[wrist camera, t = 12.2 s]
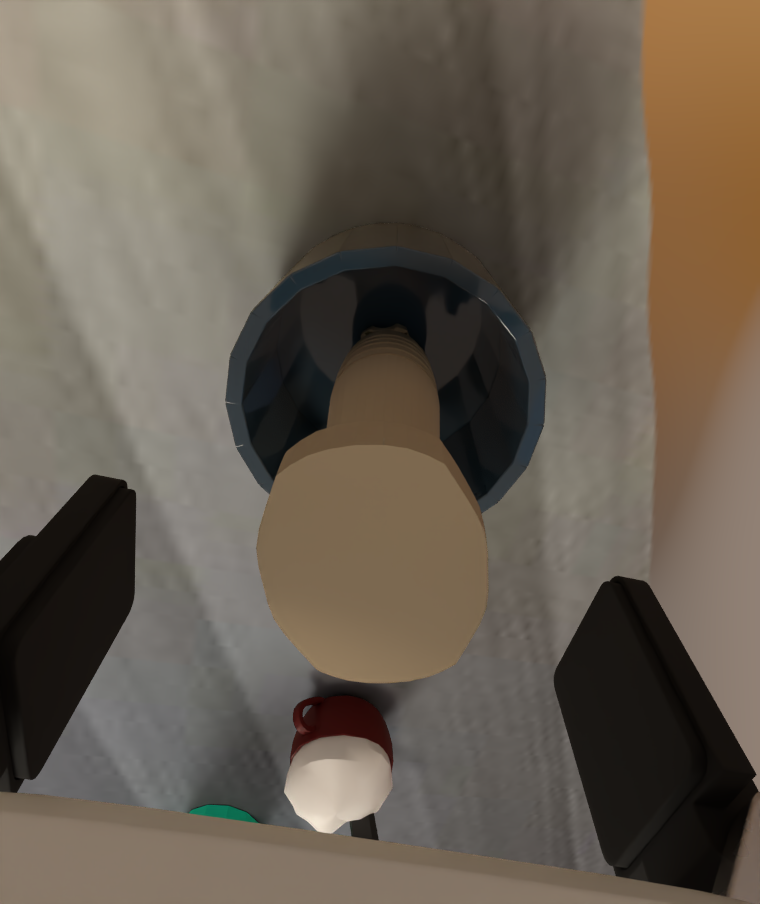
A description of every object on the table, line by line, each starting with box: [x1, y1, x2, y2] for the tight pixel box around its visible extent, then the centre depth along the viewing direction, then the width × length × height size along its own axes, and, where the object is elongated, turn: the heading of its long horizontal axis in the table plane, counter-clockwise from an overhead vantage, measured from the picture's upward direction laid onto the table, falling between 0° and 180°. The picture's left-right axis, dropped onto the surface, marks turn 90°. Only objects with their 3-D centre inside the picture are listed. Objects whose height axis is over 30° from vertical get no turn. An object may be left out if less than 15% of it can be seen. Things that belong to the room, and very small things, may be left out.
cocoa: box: [284, 695, 393, 841], centre depth 32 cm, size 10×6×12 cm, turn 11°
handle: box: [256, 324, 488, 683], centre depth 19 cm, size 5×6×15 cm
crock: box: [225, 223, 546, 514], centre depth 23 cm, size 11×11×7 cm
